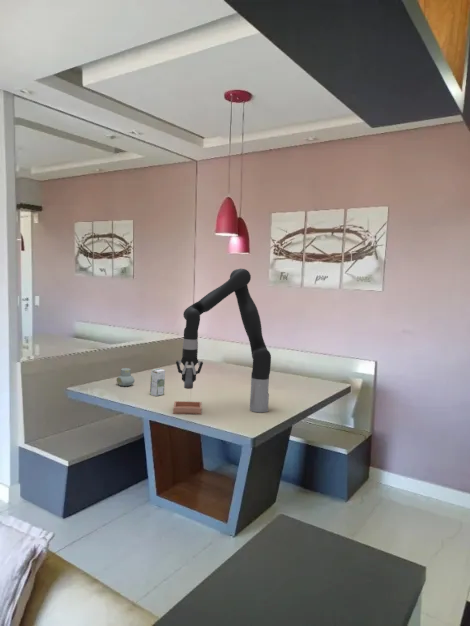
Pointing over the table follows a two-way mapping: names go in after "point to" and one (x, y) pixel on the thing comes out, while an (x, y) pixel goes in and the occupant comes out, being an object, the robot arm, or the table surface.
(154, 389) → the syrup box
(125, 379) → the air freshener
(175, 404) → the tray
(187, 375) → the shaker
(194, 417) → the table surface
